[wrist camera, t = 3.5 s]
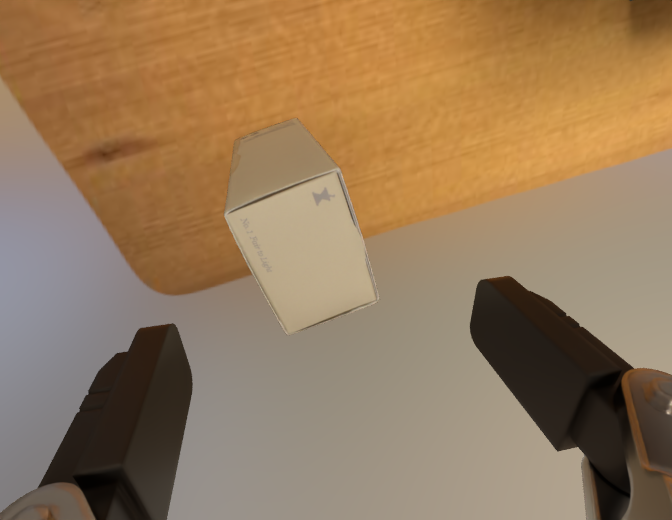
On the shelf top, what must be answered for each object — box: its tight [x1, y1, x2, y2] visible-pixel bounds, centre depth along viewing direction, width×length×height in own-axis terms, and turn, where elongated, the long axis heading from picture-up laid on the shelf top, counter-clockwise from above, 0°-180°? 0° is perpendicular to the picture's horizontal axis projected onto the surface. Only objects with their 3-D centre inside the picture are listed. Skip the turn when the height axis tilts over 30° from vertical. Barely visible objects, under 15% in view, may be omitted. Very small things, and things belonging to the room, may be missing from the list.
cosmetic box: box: [224, 118, 379, 335], centre depth 18 cm, size 6×4×12 cm
